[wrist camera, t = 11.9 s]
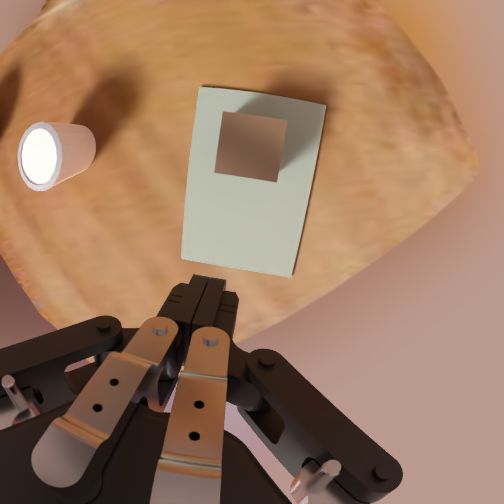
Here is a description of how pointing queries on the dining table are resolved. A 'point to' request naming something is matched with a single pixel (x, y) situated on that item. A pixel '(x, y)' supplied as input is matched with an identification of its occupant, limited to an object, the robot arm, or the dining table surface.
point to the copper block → (250, 146)
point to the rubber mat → (249, 187)
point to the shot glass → (54, 153)
